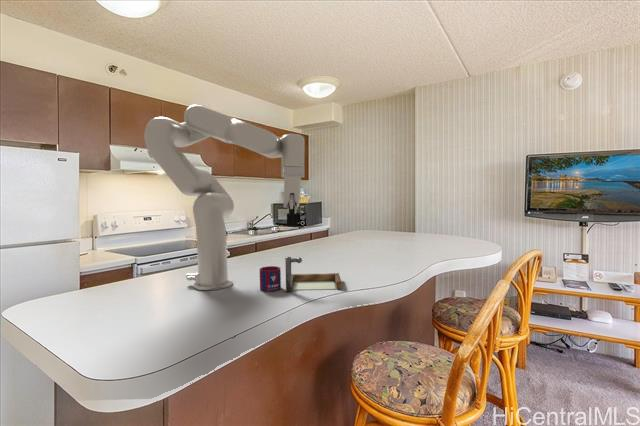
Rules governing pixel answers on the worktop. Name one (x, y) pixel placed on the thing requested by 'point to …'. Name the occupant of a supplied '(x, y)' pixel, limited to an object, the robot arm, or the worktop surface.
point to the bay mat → (314, 285)
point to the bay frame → (317, 278)
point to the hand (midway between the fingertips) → (292, 224)
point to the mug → (270, 279)
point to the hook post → (288, 272)
